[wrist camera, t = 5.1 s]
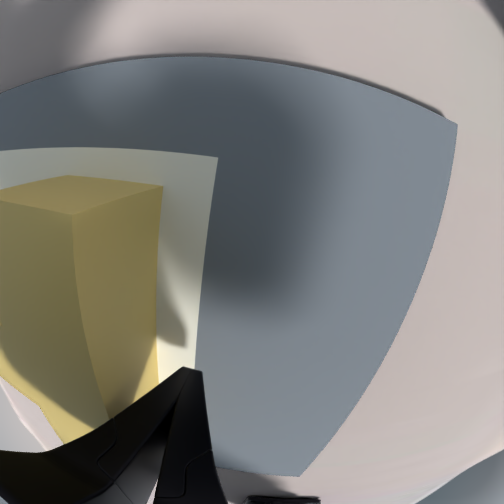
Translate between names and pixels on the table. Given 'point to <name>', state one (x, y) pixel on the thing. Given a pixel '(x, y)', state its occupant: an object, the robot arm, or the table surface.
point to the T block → (79, 296)
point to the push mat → (256, 226)
